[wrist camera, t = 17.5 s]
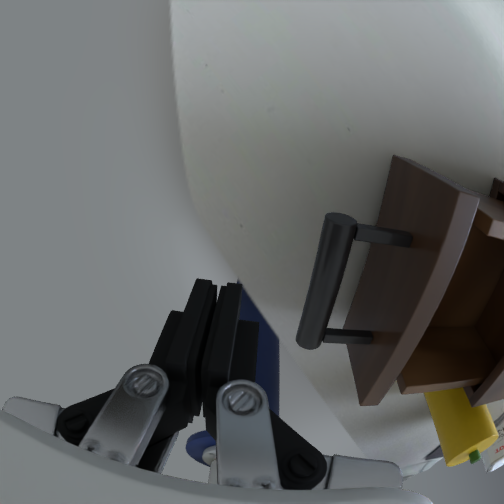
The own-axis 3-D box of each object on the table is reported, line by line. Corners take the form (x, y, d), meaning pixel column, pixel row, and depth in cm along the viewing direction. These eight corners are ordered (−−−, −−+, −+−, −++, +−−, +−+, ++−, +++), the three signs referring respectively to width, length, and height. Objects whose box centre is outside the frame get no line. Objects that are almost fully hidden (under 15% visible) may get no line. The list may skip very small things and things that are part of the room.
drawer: (285, 324, 20) (287, 405, 14) (320, 139, 14) (354, 164, 8) (466, 331, 20) (498, 387, 14) (523, 199, 14) (582, 240, 8)
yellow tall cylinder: (445, 381, 25) (476, 466, 14) (409, 384, 25) (437, 480, 14) (469, 347, 22) (512, 438, 12) (432, 349, 22) (475, 454, 12)
